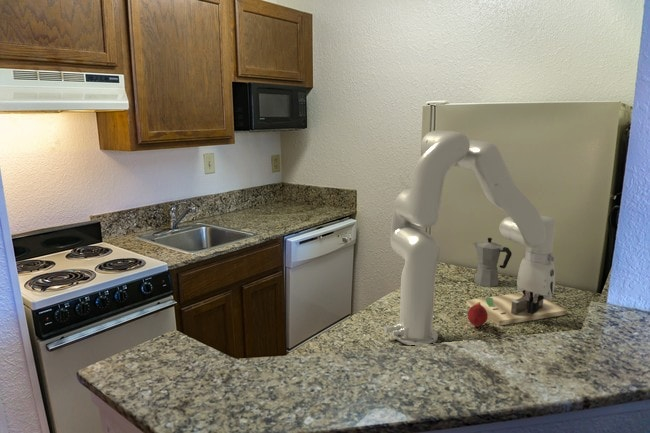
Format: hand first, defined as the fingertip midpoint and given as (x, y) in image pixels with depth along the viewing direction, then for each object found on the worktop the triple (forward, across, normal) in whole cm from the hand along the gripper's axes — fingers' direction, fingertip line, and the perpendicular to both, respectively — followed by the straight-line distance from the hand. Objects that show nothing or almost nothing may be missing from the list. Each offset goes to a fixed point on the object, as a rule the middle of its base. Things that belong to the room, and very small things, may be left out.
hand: (532, 312), depth 146 cm
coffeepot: (+3, +27, -18) cm, 33 cm away
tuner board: (+3, +8, -4) cm, 9 cm away
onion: (+3, +8, +17) cm, 19 cm away
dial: (+1, +4, -4) cm, 6 cm away
